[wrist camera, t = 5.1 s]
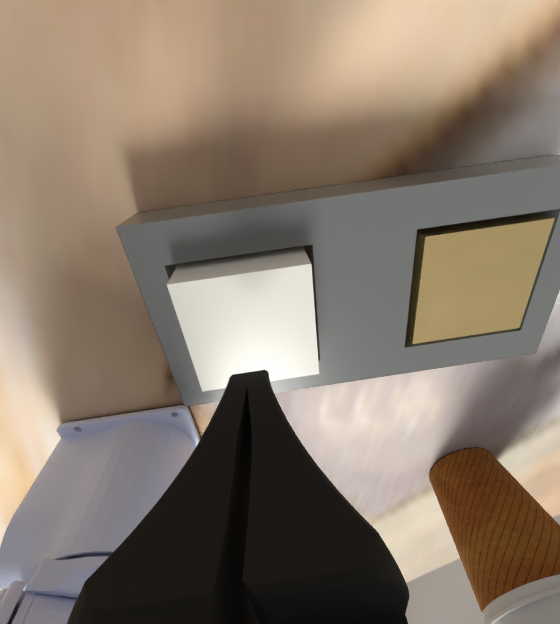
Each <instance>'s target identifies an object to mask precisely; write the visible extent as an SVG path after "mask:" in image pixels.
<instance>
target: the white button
mask: <svg viewBox="0 0 560 624" xmlns="http://www.w3.org/2000/svg"><path fill="white" fill-rule="evenodd" d="M167 287H168V290H169V293H170V296H171V299H172V302H173V305H174V308H175V311H176V314H177V317H178V320H179V323H180V326H181V329H182V332H183V335H184V338H185V341H186V344H187V347H188V350H189V353H190V356H191V359H192V362H193V365H194V368H195V371H196V374H197V377H198V380H199V383H200V386H201V389H202V392H203V391H210V390H217V389H223V388H226V386H227V383H228V381H229V378H230V376H231V375H233V374H239V373H246V372H253V371H259V370H266V371H268V373H269V378H270V381H276V380H283V379H289V378H296V377H303V376H309V375H316V374H319V363H318V349H317V335H316V321H315V307H314V293H313V279H312V265H311V262H310V260H309V258H308V256H307V254H306V252H305V250H304V248H303V246H298V247H291V248H284V249H277V250H270V251H263V252H256V253H249V254H242V255H235V256H228V257H221V258H214V259H207V260H200V261H193V262H186V263H179V264H178V265H177V267H176V269H175V271H174V272H173V274H172V276H171V278H170V280H169V281H168V283H167Z"/></svg>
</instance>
